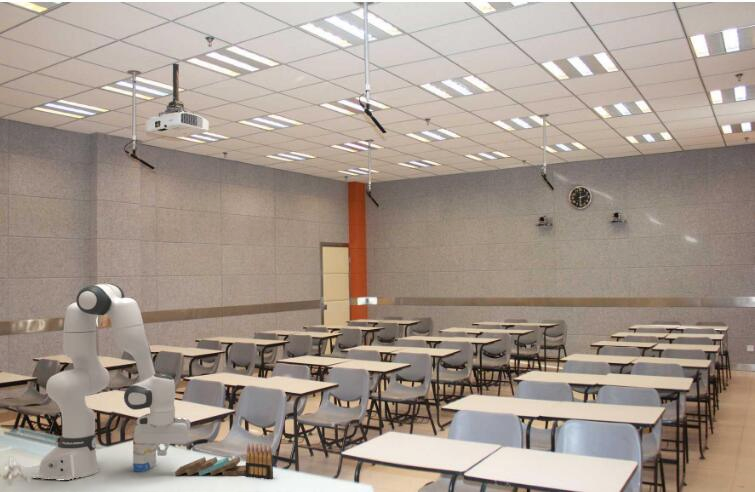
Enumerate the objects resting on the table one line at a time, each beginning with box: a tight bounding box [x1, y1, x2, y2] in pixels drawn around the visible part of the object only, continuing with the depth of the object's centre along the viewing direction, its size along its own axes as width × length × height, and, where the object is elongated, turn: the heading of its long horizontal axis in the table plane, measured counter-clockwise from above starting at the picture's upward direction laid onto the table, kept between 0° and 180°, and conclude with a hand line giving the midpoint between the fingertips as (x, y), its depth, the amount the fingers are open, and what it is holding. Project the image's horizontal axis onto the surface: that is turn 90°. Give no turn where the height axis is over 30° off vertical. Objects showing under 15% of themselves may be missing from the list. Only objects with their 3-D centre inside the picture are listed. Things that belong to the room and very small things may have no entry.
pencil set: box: [244, 442, 274, 480], centre depth 230 cm, size 11×2×12 cm, turn 70°
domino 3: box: [197, 456, 230, 477], centre depth 234 cm, size 2×6×10 cm
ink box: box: [132, 438, 157, 473], centre depth 242 cm, size 8×5×15 cm, turn 168°
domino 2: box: [186, 456, 219, 477], centre depth 234 cm, size 2×6×10 cm
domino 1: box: [174, 456, 207, 477], centre depth 234 cm, size 2×6×10 cm
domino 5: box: [221, 464, 246, 477], centre depth 234 cm, size 2×6×10 cm
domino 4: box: [209, 456, 241, 476], centre depth 234 cm, size 2×6×10 cm
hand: (162, 455), depth 235 cm, fingers closed
